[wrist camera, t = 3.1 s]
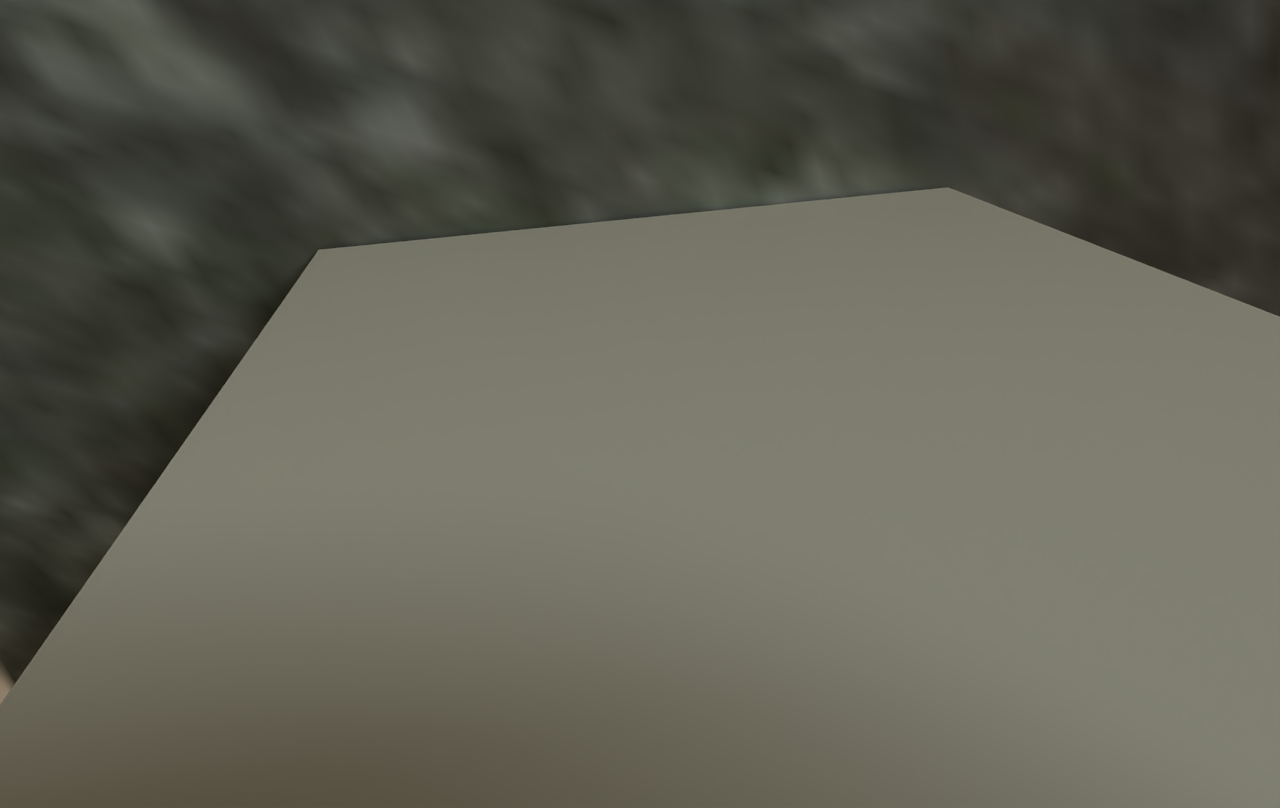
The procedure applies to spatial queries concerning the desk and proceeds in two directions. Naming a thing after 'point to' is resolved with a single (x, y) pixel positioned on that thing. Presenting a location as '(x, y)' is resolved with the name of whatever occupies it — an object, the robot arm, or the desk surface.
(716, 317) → the plain beige cube
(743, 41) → the desk surface
